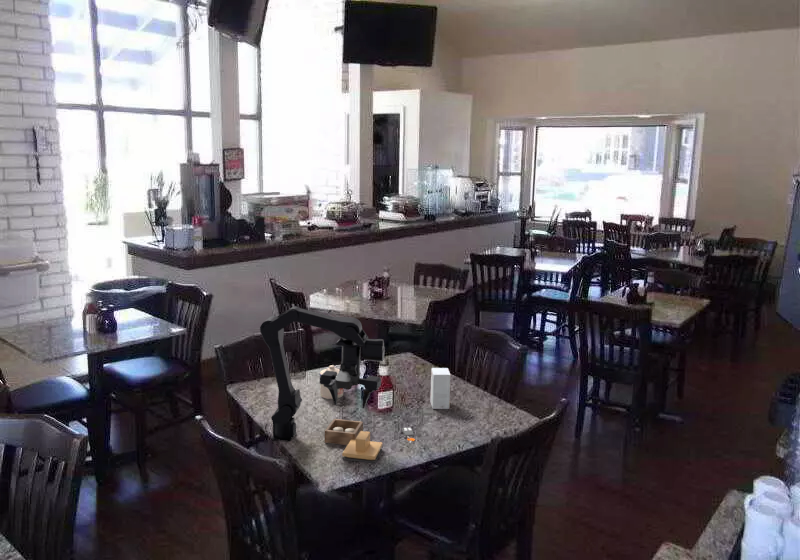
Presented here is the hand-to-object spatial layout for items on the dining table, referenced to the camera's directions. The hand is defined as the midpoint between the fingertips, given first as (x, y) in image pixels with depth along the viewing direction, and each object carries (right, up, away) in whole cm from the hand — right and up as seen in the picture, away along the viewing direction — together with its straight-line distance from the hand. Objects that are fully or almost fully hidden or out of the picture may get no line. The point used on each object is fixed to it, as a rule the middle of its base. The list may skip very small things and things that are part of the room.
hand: (349, 406), depth 213 cm
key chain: (+19, -12, +6) cm, 23 cm away
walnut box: (-2, -11, +4) cm, 12 cm away
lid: (+5, -13, -8) cm, 16 cm away
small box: (+30, -6, +34) cm, 46 cm away
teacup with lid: (-10, -4, +43) cm, 44 cm away
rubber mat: (+5, -13, -8) cm, 16 cm away
